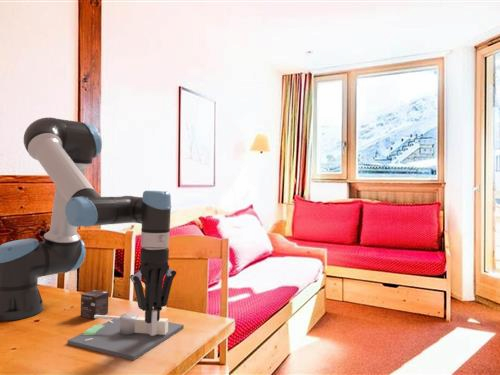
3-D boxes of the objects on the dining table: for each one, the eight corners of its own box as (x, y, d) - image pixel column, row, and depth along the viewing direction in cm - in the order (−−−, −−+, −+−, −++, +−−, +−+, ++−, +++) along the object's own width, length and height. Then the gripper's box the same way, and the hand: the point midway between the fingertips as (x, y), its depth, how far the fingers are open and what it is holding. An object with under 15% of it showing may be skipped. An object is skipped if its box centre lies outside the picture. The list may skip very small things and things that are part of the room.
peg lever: (89, 331, 101) (89, 317, 101) (99, 325, 106) (99, 311, 106) (163, 337, 99) (163, 322, 99) (169, 330, 104) (169, 316, 104)
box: (79, 317, 116) (80, 294, 116) (94, 311, 122) (94, 289, 122) (94, 320, 114) (94, 296, 114) (108, 313, 119) (109, 291, 119)
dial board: (64, 343, 97) (64, 338, 97) (123, 316, 118) (123, 312, 118) (134, 360, 88) (134, 355, 88) (184, 327, 109) (184, 323, 109)
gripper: (139, 251, 92) (135, 344, 92) (182, 247, 101) (179, 332, 101) (126, 247, 97) (122, 335, 97) (168, 243, 106) (165, 324, 106)
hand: (151, 333), depth 99 cm, fingers closed
